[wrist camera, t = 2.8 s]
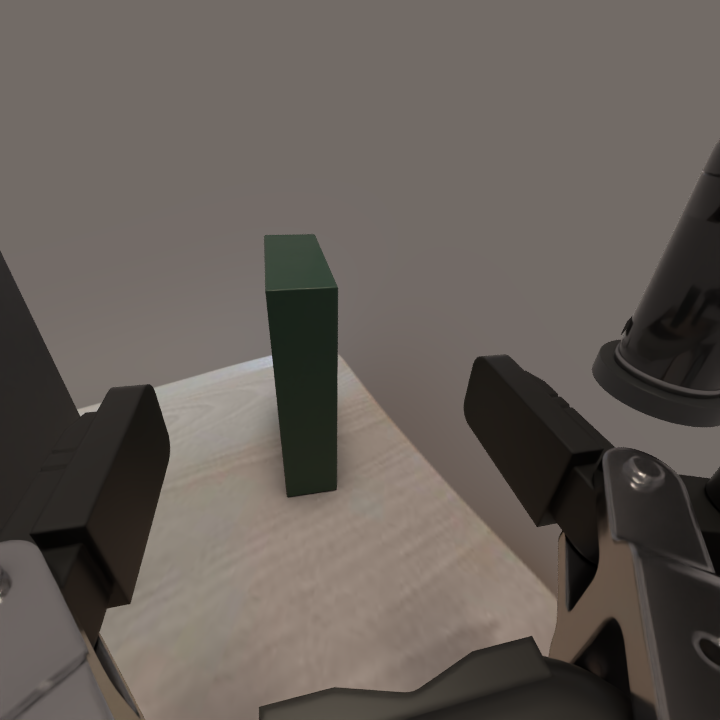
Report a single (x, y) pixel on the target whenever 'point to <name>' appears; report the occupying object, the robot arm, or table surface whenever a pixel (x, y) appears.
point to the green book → (304, 359)
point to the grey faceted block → (26, 397)
